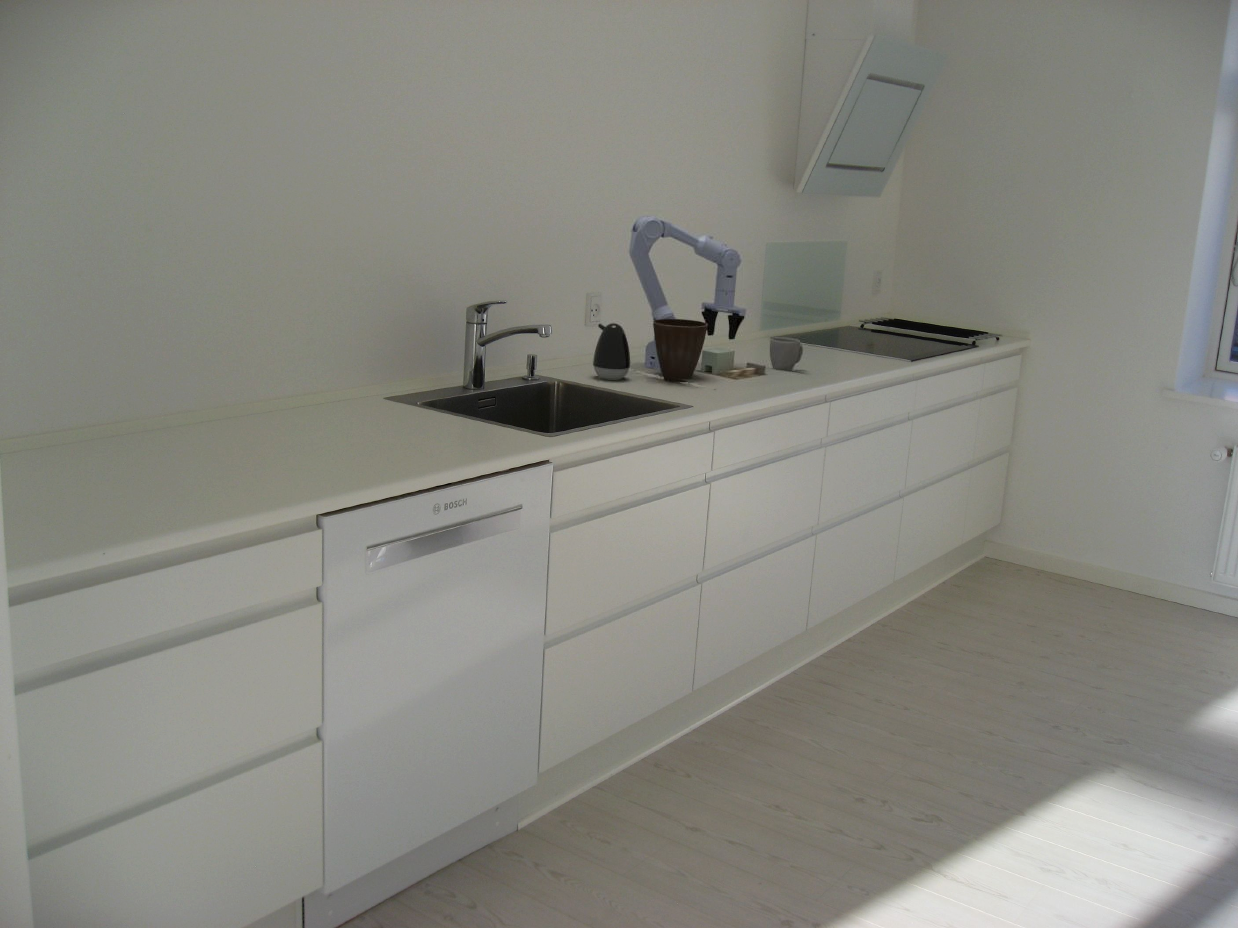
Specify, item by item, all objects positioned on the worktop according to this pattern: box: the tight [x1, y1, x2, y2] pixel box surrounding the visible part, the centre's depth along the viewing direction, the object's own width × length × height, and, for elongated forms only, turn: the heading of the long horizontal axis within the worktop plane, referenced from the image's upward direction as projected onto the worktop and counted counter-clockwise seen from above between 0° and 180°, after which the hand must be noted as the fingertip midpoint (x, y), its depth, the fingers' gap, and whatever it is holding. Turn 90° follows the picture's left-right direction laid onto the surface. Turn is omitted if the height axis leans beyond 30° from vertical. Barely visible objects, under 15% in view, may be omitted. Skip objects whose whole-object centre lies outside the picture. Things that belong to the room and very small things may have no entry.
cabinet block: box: [700, 347, 736, 374], centre depth 322 cm, size 8×6×6 cm
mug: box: [769, 336, 804, 373], centre depth 334 cm, size 12×9×10 cm
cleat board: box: [695, 362, 768, 380], centre depth 321 cm, size 15×15×4 cm
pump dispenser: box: [592, 322, 631, 381], centre depth 305 cm, size 10×10×15 cm
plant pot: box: [652, 318, 708, 383], centre depth 309 cm, size 15×15×16 cm
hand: (720, 337), depth 326 cm, fingers open, 7 cm apart
